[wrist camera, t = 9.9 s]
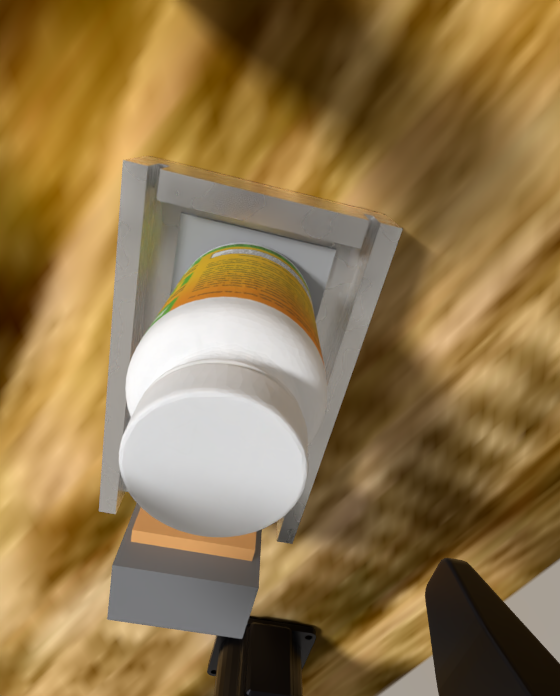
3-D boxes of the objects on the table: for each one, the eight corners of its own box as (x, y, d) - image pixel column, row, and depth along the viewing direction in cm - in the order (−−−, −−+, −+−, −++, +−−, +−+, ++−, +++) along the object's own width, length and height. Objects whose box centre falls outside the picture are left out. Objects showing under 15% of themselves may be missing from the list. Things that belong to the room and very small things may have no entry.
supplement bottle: (185, 226, 16) (79, 332, 8) (325, 254, 17) (375, 384, 8) (172, 352, 19) (80, 544, 10) (295, 374, 19) (310, 575, 10)
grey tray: (291, 499, 25) (295, 662, 17) (119, 468, 24) (42, 626, 16) (384, 214, 18) (461, 274, 10) (148, 155, 17) (38, 174, 9)
